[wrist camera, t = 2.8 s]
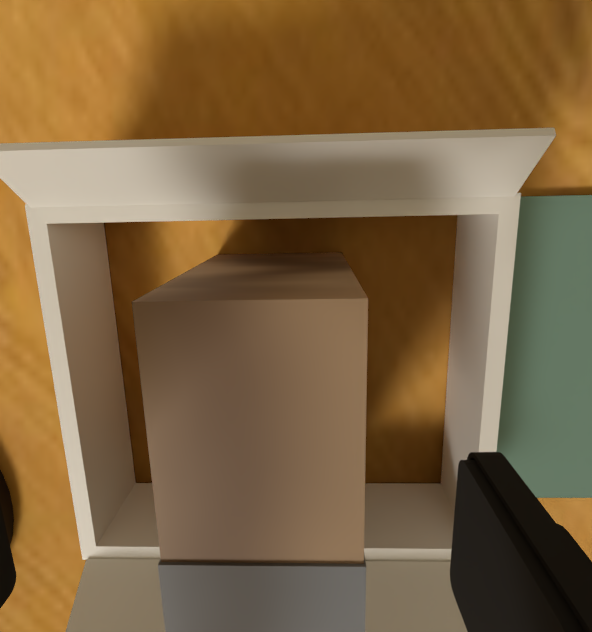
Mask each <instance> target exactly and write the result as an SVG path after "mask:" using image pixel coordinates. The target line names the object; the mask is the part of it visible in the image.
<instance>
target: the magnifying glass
mask: <svg viewBox="0 0 592 632" xmlns="http://www.w3.org/2000/svg"><path fill="white" fill-rule="evenodd" d="M0 504H1V508H2V513H3V517H4V522H5V526H6V531H7V535H8V540H9V544H10V543H11V539H12V535H13V522H14V519H13V506H12V502H11V497H10V493H9V489H8V487H7V484H6V481H5V479H4V476H3V474H2V472H1V470H0Z"/></svg>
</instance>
